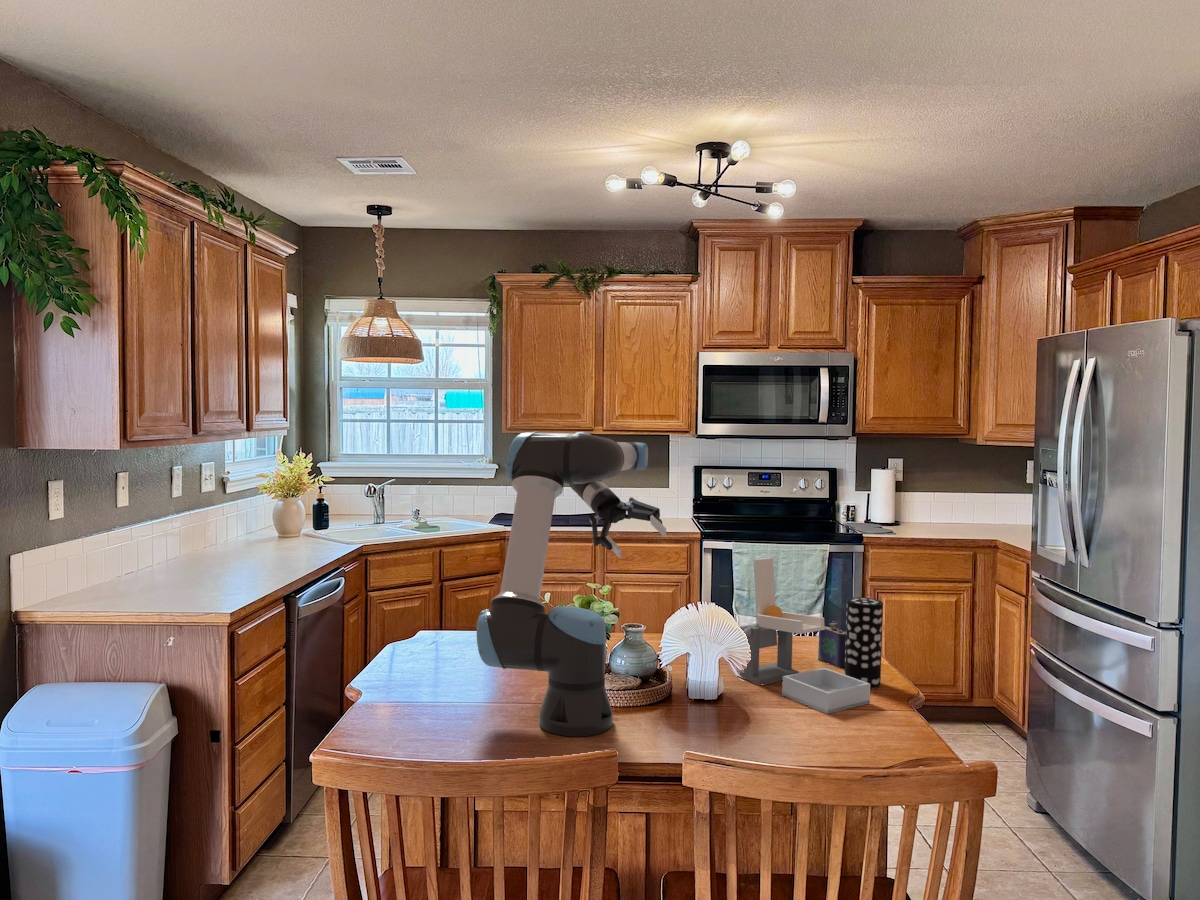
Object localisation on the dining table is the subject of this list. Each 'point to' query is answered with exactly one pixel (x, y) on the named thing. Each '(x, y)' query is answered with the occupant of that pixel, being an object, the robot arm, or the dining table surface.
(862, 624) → the spotted tube
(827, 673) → the grey storage tray
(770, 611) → the ball
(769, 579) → the chute
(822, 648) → the flask
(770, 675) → the stand
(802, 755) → the dining table surface
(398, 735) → the dining table surface
